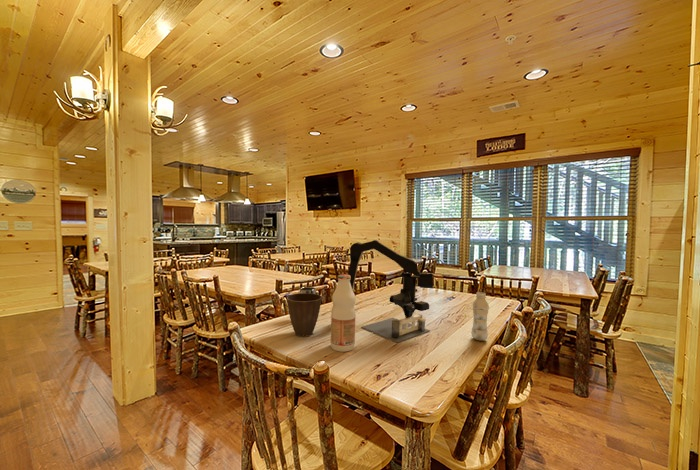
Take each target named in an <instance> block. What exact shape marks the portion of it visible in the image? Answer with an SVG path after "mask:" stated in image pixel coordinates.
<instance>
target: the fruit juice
mask: <svg viewBox="0 0 700 470" xmlns="http://www.w3.org/2000/svg"><path fill="white" fill-rule="evenodd" d="M350 278H351V276H350V275H348V274H339V275H338V276H337V280H338V281H337V285H336V287H335V290H334V292H333V293H332V294H331V295H332V296H331V302H332V308H331V312H330V318H331V319H330V347H331V349H332V350H334V351H336V352H341V353H342V352H350V351H352V350H354V349H355V346H356V316H357V315H356V308H355V304H356V296H355V295H356V294H355V293H354V289H353V290H352V287H351V284H350Z"/></svg>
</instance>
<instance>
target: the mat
mask: <svg viewBox="0 0 700 470" xmlns="http://www.w3.org/2000/svg"><path fill="white" fill-rule="evenodd" d="M392 320H399V319H398V318H396V317H391V318H387V319H383V320H381V321H376V322H373V323H370V324H365V325H362V326H361V329H364V330H366V331H368V332H370V333H373V334H375V335H378V336H380V337H382V338H385V339H387V340H389V341H392V342H393V343H396V344H400V343H402V342H405V341H407V340H410V339H413V338H416V337H418V336H421V335H423V334H427V333H429V332H430V329H427V328H425V331H423V332H421V331H418V330H415V331H412V332H409V333H406V334H403V335H400V336H399V338H397V339H394V338H392V337H391V335H392ZM408 327H412V323H411V322H409V323H408ZM402 329H405V324H403V325H402Z"/></svg>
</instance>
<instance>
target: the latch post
mask: <svg viewBox="0 0 700 470" xmlns="http://www.w3.org/2000/svg"><path fill="white" fill-rule="evenodd" d="M418 320H419V326H418V331H421V332H423V331H425V329H426V326H425V325H426V321H427V320H426V319H425V318H423V317H422V318H420V319H418Z"/></svg>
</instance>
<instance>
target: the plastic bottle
mask: <svg viewBox="0 0 700 470" xmlns="http://www.w3.org/2000/svg"><path fill="white" fill-rule="evenodd" d="M486 294H487V293H485V292H484V291H483V292H482V291H477V292H476V295H475V297H476V299H474V300H473V302H472V313H473V317H472V318H473V321H472V327H471V332H470V333H471V337H472V338H473V339H474V340H476V341H479V342H484V341H485V342H486V341H487V340H488V336H489V333H488V322H487V321H488V314H489V309H490V308H489V307H490V306H489V302H488V301H487V300H486V299H487V295H486Z"/></svg>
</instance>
